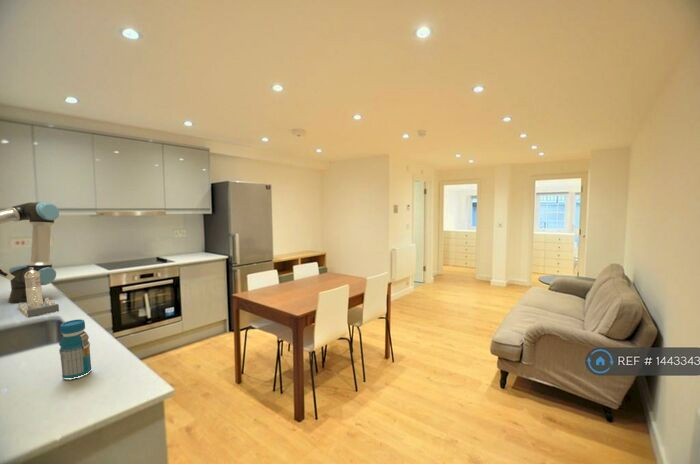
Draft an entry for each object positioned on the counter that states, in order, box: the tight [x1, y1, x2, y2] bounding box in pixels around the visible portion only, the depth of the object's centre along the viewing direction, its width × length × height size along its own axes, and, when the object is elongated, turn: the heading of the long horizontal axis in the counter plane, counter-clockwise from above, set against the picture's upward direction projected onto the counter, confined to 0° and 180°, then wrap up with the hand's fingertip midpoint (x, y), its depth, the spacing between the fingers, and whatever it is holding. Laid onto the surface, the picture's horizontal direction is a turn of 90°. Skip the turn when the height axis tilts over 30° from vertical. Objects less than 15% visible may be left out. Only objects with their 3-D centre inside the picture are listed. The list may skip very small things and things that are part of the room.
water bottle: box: [24, 267, 44, 310], centre depth 193 cm, size 7×7×25 cm
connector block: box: [27, 303, 60, 318], centre depth 182 cm, size 2×13×4 cm, turn 144°
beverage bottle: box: [58, 318, 92, 379], centre depth 116 cm, size 8×8×20 cm
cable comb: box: [17, 297, 56, 318], centre depth 190 cm, size 26×13×4 cm, turn 54°
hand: (10, 277), depth 185 cm, fingers open, 13 cm apart
